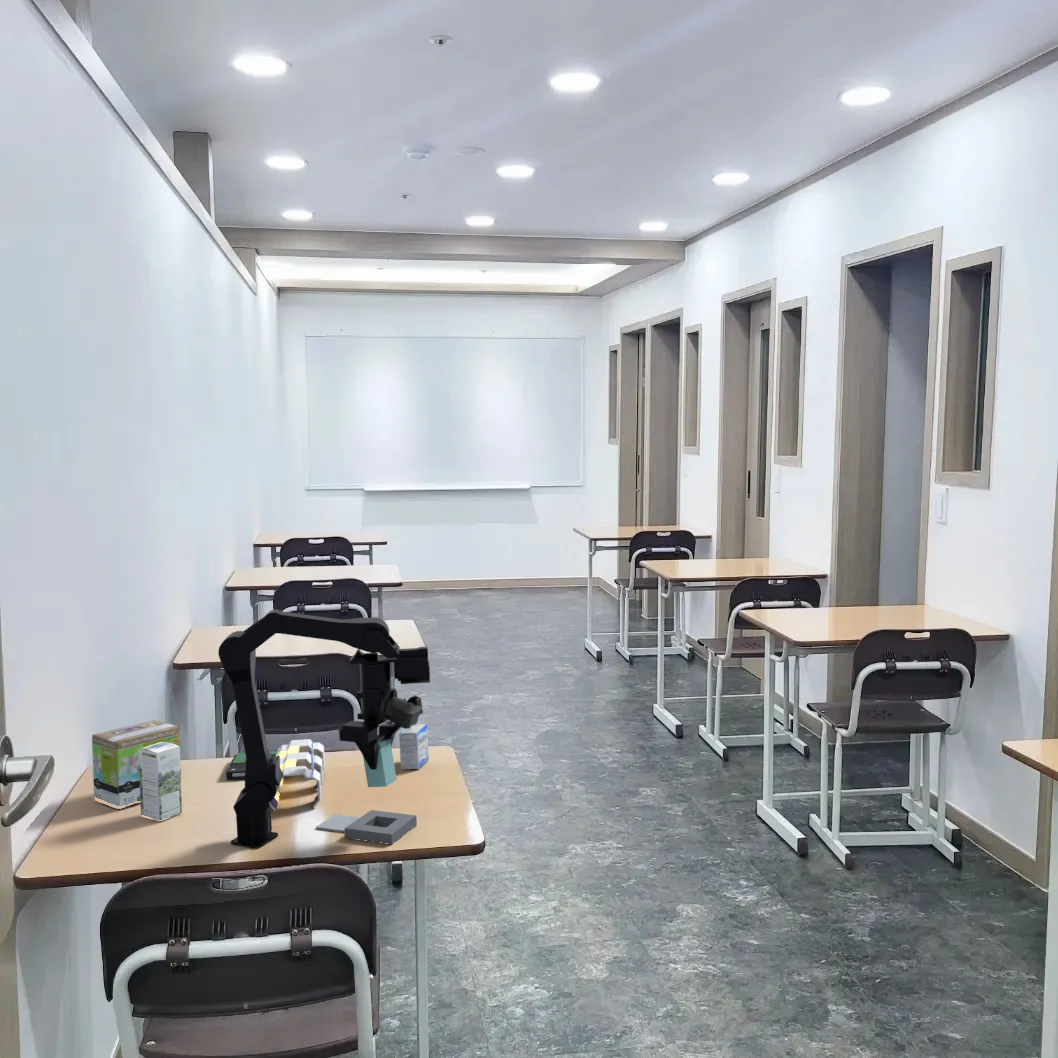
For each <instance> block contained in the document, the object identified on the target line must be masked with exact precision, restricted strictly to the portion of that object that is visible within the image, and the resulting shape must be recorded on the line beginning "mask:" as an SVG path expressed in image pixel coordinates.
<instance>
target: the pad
mask: <svg viewBox="0 0 1058 1058" xmlns="http://www.w3.org/2000/svg"><path fill="white" fill-rule="evenodd" d="M360 817H361V816H360ZM360 817H358V816H351V815H345V814H344V815H342V814H333V815H332V816H330V817H329V818H327V819H325V820H324V821H323V822H321V823H320V824H318V825H316V826H315V830H320V829H323V831H330V832H336V833H343V832H345V828H346V827H347V826H349V825H350V824H351V823H353V822H354V821H356V820H357V819H359V818H360Z"/></svg>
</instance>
